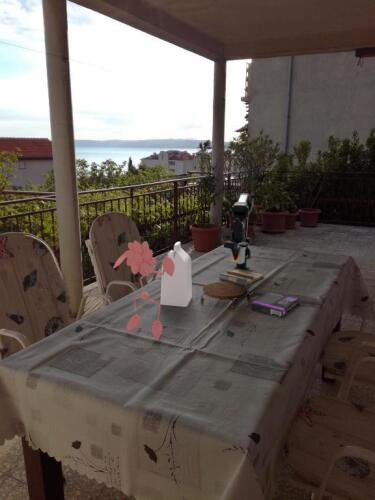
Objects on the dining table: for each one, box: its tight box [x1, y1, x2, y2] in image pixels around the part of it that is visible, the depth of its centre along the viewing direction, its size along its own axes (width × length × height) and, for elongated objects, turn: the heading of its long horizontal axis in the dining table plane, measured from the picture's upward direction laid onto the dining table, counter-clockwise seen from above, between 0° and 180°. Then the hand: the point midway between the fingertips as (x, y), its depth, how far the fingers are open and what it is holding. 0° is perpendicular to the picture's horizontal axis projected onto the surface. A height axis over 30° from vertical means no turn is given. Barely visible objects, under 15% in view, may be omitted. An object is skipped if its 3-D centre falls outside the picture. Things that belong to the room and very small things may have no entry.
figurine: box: [113, 240, 175, 350], centre depth 133 cm, size 15×26×35 cm, turn 60°
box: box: [250, 290, 300, 317], centre depth 170 cm, size 14×4×20 cm
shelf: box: [219, 268, 265, 286], centre depth 207 cm, size 18×16×3 cm
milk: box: [159, 241, 193, 308], centre depth 171 cm, size 12×12×26 cm
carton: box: [230, 246, 245, 264], centre depth 200 cm, size 4×6×8 cm, turn 51°
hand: (237, 259), depth 201 cm, fingers closed on carton, 4 cm apart
